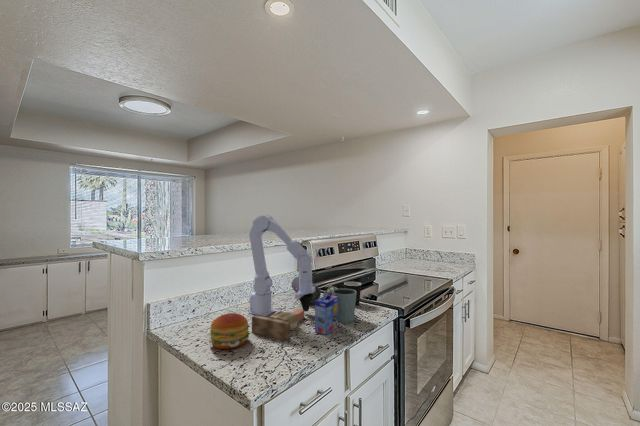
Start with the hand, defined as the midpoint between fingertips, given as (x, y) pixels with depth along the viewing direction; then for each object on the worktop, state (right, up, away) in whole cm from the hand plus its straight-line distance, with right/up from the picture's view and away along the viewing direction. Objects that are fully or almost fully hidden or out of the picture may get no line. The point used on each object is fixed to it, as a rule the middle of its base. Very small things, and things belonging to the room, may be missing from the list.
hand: (305, 310), depth 131 cm
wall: (-12, -2, -23) cm, 26 cm away
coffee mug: (+21, -1, +15) cm, 26 cm away
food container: (+12, -2, +4) cm, 13 cm away
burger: (-25, -2, -29) cm, 38 cm away
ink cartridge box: (+9, -2, -17) cm, 20 cm away
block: (-8, -2, -15) cm, 17 cm away
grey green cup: (+17, -2, -7) cm, 18 cm away
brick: (-4, -2, -7) cm, 8 cm away
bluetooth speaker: (-1, -2, +23) cm, 23 cm away
